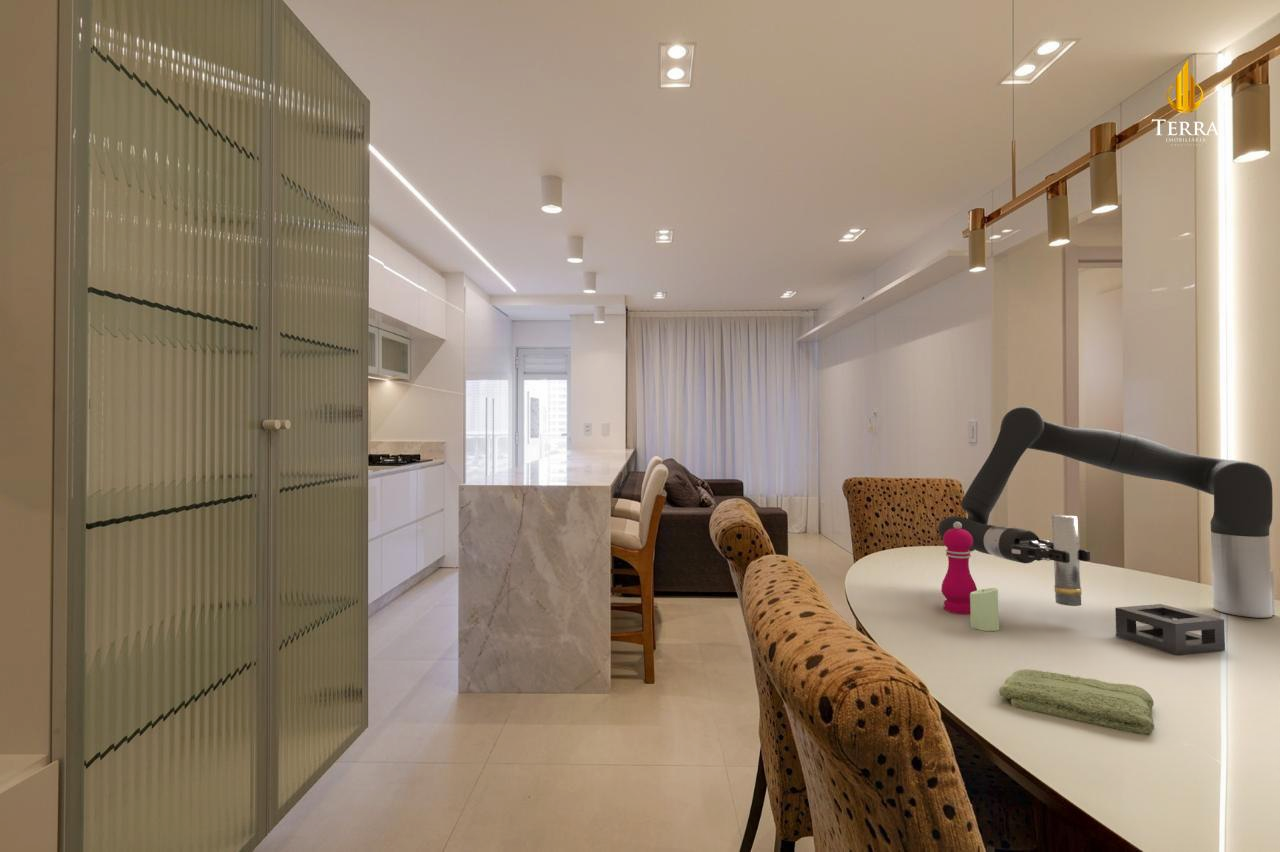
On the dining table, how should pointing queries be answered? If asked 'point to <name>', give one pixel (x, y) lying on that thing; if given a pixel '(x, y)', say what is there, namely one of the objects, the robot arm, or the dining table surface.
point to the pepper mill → (958, 570)
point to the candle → (984, 609)
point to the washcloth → (1081, 699)
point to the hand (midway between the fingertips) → (1078, 556)
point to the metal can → (1067, 572)
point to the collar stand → (1170, 629)
